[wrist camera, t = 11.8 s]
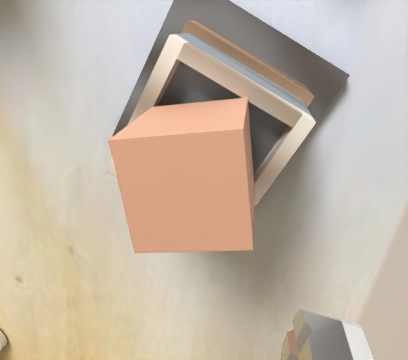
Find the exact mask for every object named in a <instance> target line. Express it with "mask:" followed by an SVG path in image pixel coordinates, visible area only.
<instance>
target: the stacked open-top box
mask: <svg viewBox="0 0 408 360" xmlns="http://www.w3.org/2000/svg"><path fill="white" fill-rule="evenodd" d="M349 76H350V75H349V74H347V73H345V72H344V71H342V70H340V69H339V68H337V67H336V66H334V65H332V64H331V63H329V62H328V61H326V60H324V59H323V58H321V57H319V56H318V55H316V54H315V53H313V52H311V51H310V50H308V49H307V48H305V47H303V46H302V45H300V44H298V43H297V42H295V41H294V40H292V39H290V38H289V37H287V36H286V35H284V34H282V33H281V32H279V31H277V30H276V29H274V28H273V27H271V26H269V25H268V24H266V23H265V22H263V21H261V20H260V19H258V18H257V17H255V16H253V15H252V14H250V13H248V12H247V11H245V10H244V9H242V8H240V7H239V6H237V5H236V4H234V3H232V2H231V1H229V0H174V1H173V3H172V5H171V8H170V10H169V12H168V14H167V17H166V19H165V21H164V23H163V25H162V28H161V30H160V32H159V34H158V36H157V39H156V41H155V43H154V45H153V47H152V50H151V52H150V54H149V56H148V59H147V61H146V63H145V65H144V67H143V70H142V72H141V74H140V76H139V78H138V81H137V83H136V85H135V87H134V90H133V92H132V94H131V96H130V98H129V101H128V103H127V105H126V107H125V109H124V112H123V114H122V116H121V118H120V120H119V123H118V125H117V127H116V129H115V132H114V134H113V136H115V135H116V134H117V133H118V132H120V131H121V130H122V129H124V128H125V127H126V126H128V125H129V124H130V123H132V122H133V121H134V120H136V119H137V118H138V117H139V116H141V115H142V114H143V113H145V112H146V111H147V110H149V109H150V108H151V107H156V106H166V105H176V104H186V103H196V102H206V101H216V100H226V99H236V98H246V97H248V107H249V120H250V134H251V147H252V160H253V173H254V186H255V194H254V208H255V207H256V205H257V204H258V203H259V201H260V200H261V198H262V197H263V196H264V194H265V193H266V191H267V190H268V189H269V187H270V186H271V185H272V183H273V182H274V180H275V179H276V178H277V176H278V175H279V173H280V172H281V171H282V169H283V168H284V167H285V165H286V164H287V162H288V161H289V160H290V158H291V157H292V155H293V154H294V153H295V151H296V150H297V149H298V147H299V146H300V144H301V143H302V142H303V140H304V139H305V138H306V136H307V135H308V133H309V132H310V131H311V129H312V128H313V126H314V125H315V124H316V121H317V120H318V119H319V117H320V116H321V114H322V113H323V112H324V110H325V109H326V107H327V106H328V105H329V103H330V102H331V101H332V99H333V98H334V96H335V95H336V94H337V92H338V91H339V89H340V88H341V87H342V85H343V84H344V82H345V81H346V80H347V78H348V77H349ZM106 172H107V173H109V174H111V175H112V176H114V177H116V178H117V175H116V171H115V167H114V162H113V158H112V159H111V161H110V164H109V166H108V168H107V170H106Z"/></svg>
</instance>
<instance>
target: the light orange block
mask: <svg viewBox="0 0 408 360" xmlns="http://www.w3.org/2000/svg"><path fill="white" fill-rule="evenodd" d="M108 141H109V145H110V150H111V154H112V158H113V162H114V167H115V171H116V175H117V179H118V184H119V188H120V192H121V197H122V201H123V205H124V209H125V214H126V218H127V222H128V226H129V231H130V235H131V239H132V243H133V248H134V252H135V253H162V252H204V251H245V250H253V240H254V194H255V186H254V173H253V160H252V147H251V134H250V120H249V107H248V97H246V98H236V99H226V100H216V101H206V102H196V103H186V104H176V105H166V106H156V107H151V108H150V109H149V110H147V111H146V112H145V113H143V114H142V115H141V116H139V117H138V118H137V119H136V120H134V121H133V122H132V123H130V124H129V125H128V126H126V127H125V128H124V129H122V130H121V131H120V132H118V133H117V134H116V135H115V136H113V137H112V138H111V139H109V140H108Z"/></svg>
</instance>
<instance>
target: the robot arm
mask: <svg viewBox="0 0 408 360" xmlns="http://www.w3.org/2000/svg"><path fill="white" fill-rule="evenodd" d="M293 325H294V330H292V331H290V332H288V333H287V335H286V337H285V339H284V342H283V346H282V351H281V360H374V359H373V356H372V354H371V351H370V348H369V346H368V343H367V340H366V338H365V335H364V332H363V330H362V328H361V326H360V325H359V324H356V323H352V322H348V321H344V320H340V319H338V320H337V319H334V318H330V317H326V316H323V315H319V314H315V313H311V312H308V311H304V310H299V311H298V312H297V313H296V315H295V317H294V319H293ZM6 344H7V339H6V337H5V335H4V334H3V333H2V332H1V331H0V351H1V350H2V349H3V347H4V346H5V345H6Z"/></svg>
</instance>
